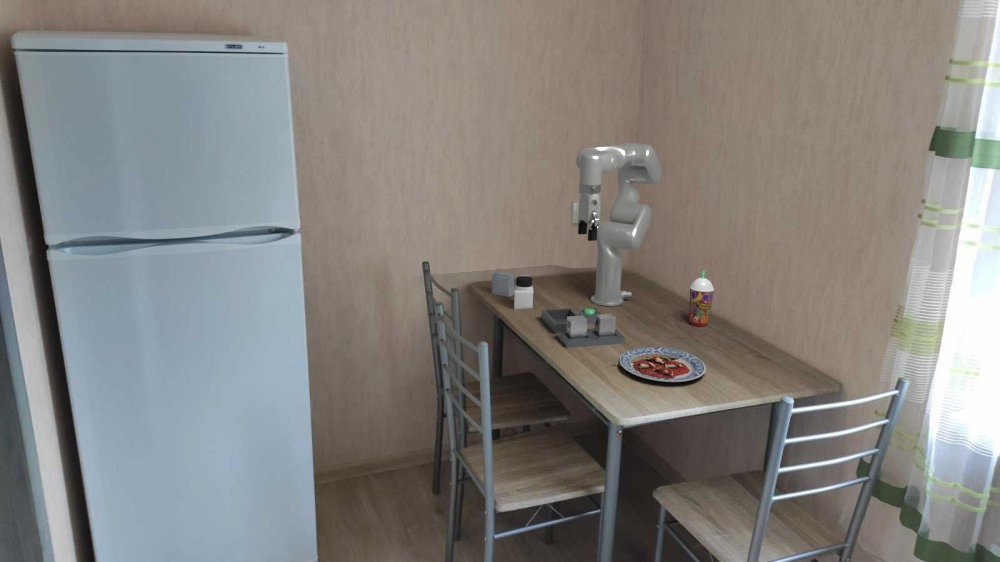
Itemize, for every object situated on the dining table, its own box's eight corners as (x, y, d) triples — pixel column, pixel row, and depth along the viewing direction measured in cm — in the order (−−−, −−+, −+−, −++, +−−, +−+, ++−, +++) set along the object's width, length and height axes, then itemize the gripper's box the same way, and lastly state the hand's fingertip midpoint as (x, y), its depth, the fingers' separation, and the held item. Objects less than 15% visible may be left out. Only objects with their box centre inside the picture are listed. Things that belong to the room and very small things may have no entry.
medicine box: (514, 295, 287) (514, 274, 284) (508, 298, 283) (508, 276, 281) (497, 291, 291) (498, 271, 288) (491, 294, 287) (492, 273, 285)
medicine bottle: (533, 310, 270) (534, 279, 266) (514, 309, 270) (514, 279, 266) (532, 304, 277) (533, 274, 273) (514, 303, 277) (514, 273, 273)
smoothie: (697, 329, 253) (703, 275, 248) (681, 322, 260) (686, 269, 255) (715, 326, 257) (721, 272, 251) (699, 318, 264) (704, 266, 258)
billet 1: (581, 337, 241) (582, 315, 238) (585, 342, 237) (587, 319, 235) (565, 339, 239) (566, 316, 237) (569, 343, 236) (570, 320, 233)
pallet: (612, 335, 246) (612, 327, 245) (624, 346, 237) (624, 337, 236) (556, 339, 242) (557, 331, 241) (566, 350, 232) (566, 342, 232)
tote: (570, 319, 260) (571, 308, 259) (585, 334, 247) (585, 322, 245) (541, 321, 258) (542, 309, 257) (554, 336, 244) (555, 324, 243)
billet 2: (609, 336, 243) (611, 313, 240) (614, 340, 239) (615, 317, 237) (593, 337, 241) (595, 314, 239) (598, 341, 238) (599, 318, 235)
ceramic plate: (678, 396, 203) (679, 386, 202) (602, 369, 219) (603, 360, 218) (719, 369, 221) (720, 360, 220) (646, 347, 237) (647, 338, 237)
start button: (591, 317, 260) (592, 307, 259) (595, 320, 256) (596, 311, 255) (582, 317, 259) (583, 308, 258) (586, 321, 256) (586, 311, 255)
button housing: (594, 318, 262) (595, 308, 261) (601, 325, 256) (602, 314, 254) (576, 319, 260) (576, 309, 259) (582, 326, 254) (583, 315, 253)
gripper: (609, 193, 242) (606, 242, 247) (591, 184, 258) (588, 231, 263) (588, 193, 240) (585, 243, 245) (571, 185, 256) (569, 232, 261)
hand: (587, 237), depth 254 cm, fingers open, 9 cm apart
